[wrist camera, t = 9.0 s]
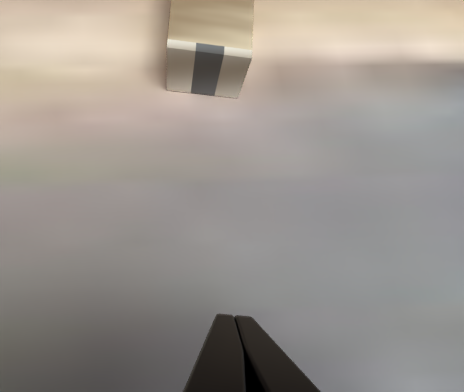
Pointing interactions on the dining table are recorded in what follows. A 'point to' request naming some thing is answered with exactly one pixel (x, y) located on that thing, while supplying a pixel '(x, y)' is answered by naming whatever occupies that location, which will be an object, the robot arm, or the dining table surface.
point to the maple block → (209, 46)
